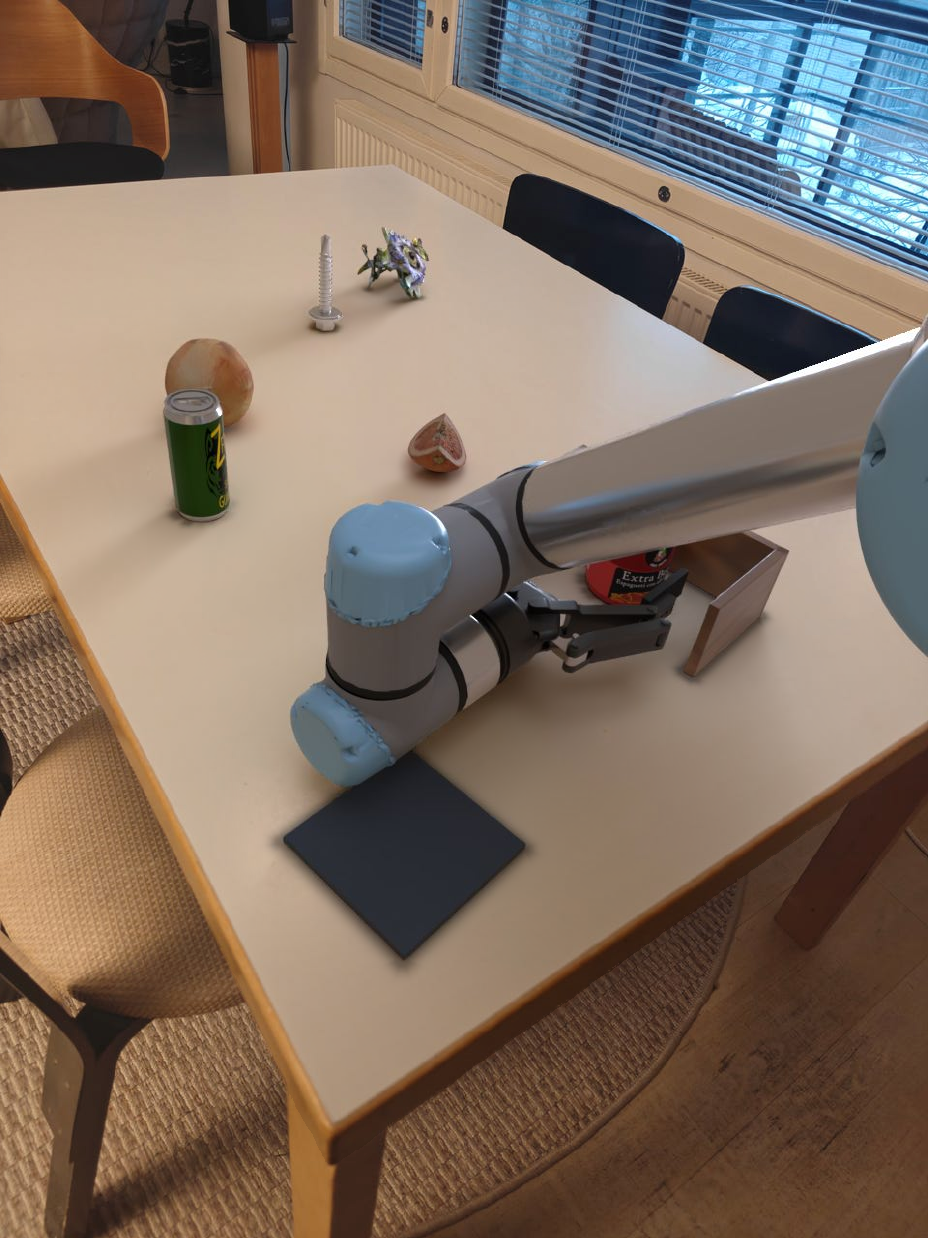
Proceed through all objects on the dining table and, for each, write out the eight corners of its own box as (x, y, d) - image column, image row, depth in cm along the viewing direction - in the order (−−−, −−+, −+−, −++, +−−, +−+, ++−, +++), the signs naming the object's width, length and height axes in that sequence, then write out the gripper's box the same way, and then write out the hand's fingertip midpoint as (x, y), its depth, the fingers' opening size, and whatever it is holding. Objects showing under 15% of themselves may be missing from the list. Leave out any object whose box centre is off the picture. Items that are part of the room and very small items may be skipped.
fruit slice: (461, 491, 96) (466, 451, 93) (401, 482, 96) (404, 443, 92) (467, 453, 102) (472, 415, 99) (411, 445, 102) (414, 407, 99)
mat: (524, 848, 61) (526, 843, 61) (404, 960, 54) (404, 955, 54) (406, 751, 67) (407, 746, 66) (283, 841, 59) (282, 836, 59)
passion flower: (412, 329, 141) (426, 286, 130) (347, 310, 139) (355, 265, 128) (424, 271, 144) (439, 224, 133) (361, 251, 142) (370, 202, 131)
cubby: (760, 615, 85) (789, 550, 79) (693, 677, 77) (720, 609, 72) (569, 507, 96) (583, 444, 90) (492, 551, 88) (503, 484, 83)
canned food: (610, 617, 82) (637, 522, 75) (569, 568, 87) (591, 474, 80) (675, 602, 85) (708, 509, 78) (632, 555, 90) (658, 464, 83)
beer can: (174, 524, 85) (160, 415, 78) (176, 494, 89) (162, 387, 82) (230, 522, 87) (221, 414, 79) (230, 493, 91) (221, 387, 83)
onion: (173, 447, 96) (163, 362, 90) (166, 405, 103) (156, 324, 97) (261, 441, 99) (257, 359, 93) (248, 400, 106) (244, 321, 100)
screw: (304, 321, 126) (336, 319, 128) (314, 335, 123) (346, 333, 124) (303, 228, 117) (337, 227, 119) (313, 240, 114) (348, 239, 116)
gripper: (360, 605, 76) (513, 519, 89) (585, 769, 64) (723, 643, 77) (362, 536, 71) (524, 455, 84) (607, 700, 60) (750, 578, 72)
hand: (620, 545), depth 81 cm, fingers open, 13 cm apart
